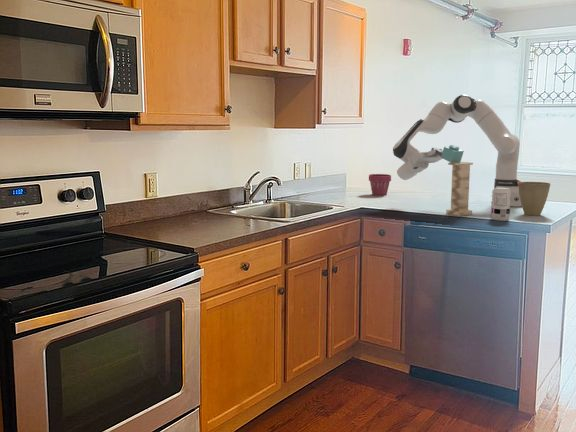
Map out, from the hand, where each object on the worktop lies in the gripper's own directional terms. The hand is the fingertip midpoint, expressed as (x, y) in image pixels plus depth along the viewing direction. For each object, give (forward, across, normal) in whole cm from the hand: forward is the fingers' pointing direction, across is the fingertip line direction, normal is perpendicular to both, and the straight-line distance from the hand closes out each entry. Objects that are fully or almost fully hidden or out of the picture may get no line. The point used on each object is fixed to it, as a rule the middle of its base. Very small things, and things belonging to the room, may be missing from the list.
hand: (438, 150), depth 302 cm
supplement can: (+15, -4, -46) cm, 48 cm away
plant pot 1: (-73, -23, +5) cm, 77 cm away
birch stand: (-4, 0, -34) cm, 35 cm away
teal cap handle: (+2, 0, -5) cm, 5 cm away
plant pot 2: (+16, -29, -46) cm, 57 cm away
